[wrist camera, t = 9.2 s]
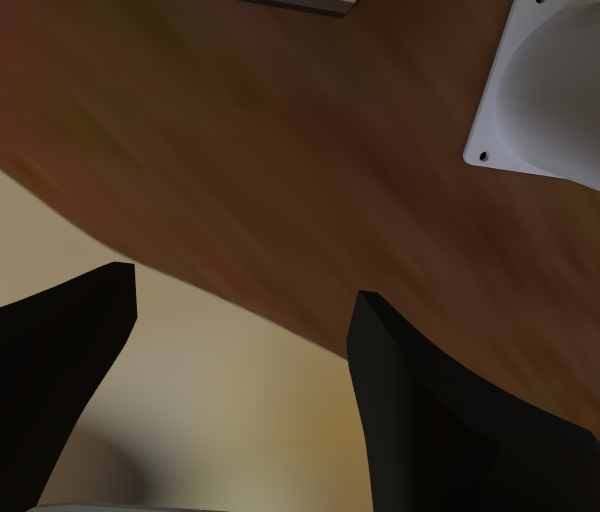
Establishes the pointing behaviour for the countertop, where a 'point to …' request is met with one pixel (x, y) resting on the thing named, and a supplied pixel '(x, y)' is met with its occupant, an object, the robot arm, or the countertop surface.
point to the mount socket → (311, 6)
